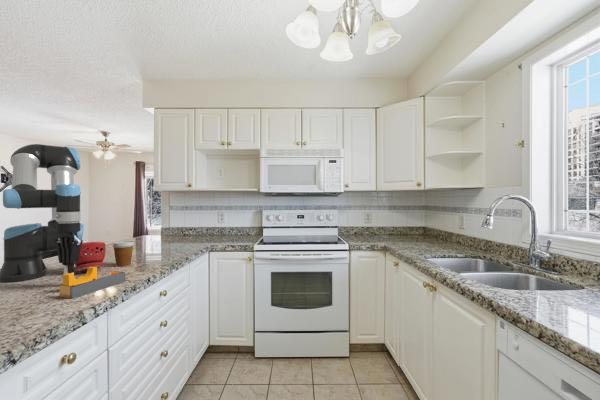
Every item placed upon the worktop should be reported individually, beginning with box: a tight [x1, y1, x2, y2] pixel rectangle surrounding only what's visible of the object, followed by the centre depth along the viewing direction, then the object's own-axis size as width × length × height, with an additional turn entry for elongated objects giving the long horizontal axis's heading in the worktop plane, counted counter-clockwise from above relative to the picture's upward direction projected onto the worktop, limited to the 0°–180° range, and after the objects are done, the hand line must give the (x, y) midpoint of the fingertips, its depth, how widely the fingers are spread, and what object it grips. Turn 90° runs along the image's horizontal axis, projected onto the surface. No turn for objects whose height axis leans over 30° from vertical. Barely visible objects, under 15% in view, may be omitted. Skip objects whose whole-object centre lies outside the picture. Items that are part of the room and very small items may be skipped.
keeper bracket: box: [59, 270, 126, 299], centre depth 105 cm, size 7×20×4 cm, turn 162°
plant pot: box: [74, 241, 107, 272], centre depth 130 cm, size 13×13×12 cm
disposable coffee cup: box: [112, 240, 135, 268], centre depth 141 cm, size 10×10×12 cm
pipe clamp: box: [62, 267, 98, 286], centre depth 108 cm, size 12×4×6 cm, turn 172°
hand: (68, 280), depth 109 cm, fingers closed
